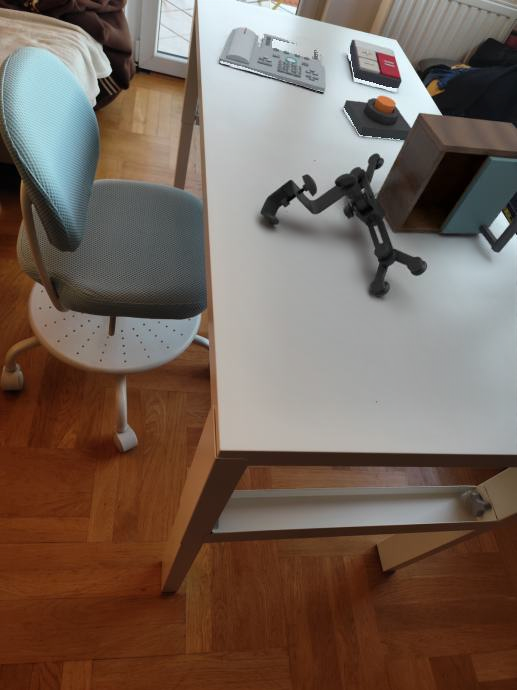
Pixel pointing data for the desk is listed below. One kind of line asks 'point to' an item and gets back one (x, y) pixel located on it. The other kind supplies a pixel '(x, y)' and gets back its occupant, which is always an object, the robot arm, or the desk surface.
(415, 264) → the tablet mount
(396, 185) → the closet
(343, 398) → the desk surface
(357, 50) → the button panel
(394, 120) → the switch block
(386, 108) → the light button
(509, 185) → the sliding door
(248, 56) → the office telephone
